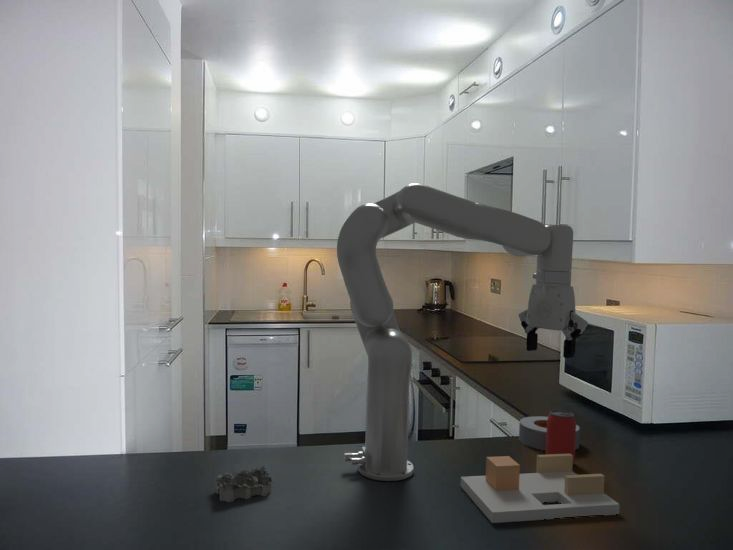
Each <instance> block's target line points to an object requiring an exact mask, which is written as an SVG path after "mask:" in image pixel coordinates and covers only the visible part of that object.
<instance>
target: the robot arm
mask: <svg viewBox="0 0 733 550" xmlns="http://www.w3.org/2000/svg"><path fill="white" fill-rule="evenodd" d="M413 224H419V225H421V226H424V227H427V228H430V229H433V230H437V231H439V232H442V233H445V234H449V235H451V236H454V237H457V238H461V239H466V240H474V241H475V240H477V241H484V242H489V243H493V244H497V245H500V246H502V248H503V249H504V250H505V251H506V252H507V253H508V254H510V255H513V256H518V257H526V256H527V257H529V256H530V257H531V256H532V257H533V256H537V259H536V271H535V272H536V273H535V272H534V273H532V279H534V280H535V283H532V286H531V289H530V294H529V298H528V303H527V309H526V310H524V311H521V312H519V313H518V317H519V320H520V325H521V327H522V328H523V330H524V333H525V334H526V343H525V344H526V351H528V352H532V351H537V350H538V339H539V338H538V337H539V336H538V333H536V332H537V331H538V330H539V329H544V330H550V331H562V334H563V335H564V337H565V338H566V339H564V341H563V352H562V353H563V354H562V357H563V358H564V359H572V358H574V356H575V353H576V345H577V344H576V341H577V340H578V339H579V337H581V336H582V335H583V334H584V331H585V330H586V328H587V327H588V325H589V322H588V321H587V320H586V319H584V318H583V317H582V316H581V315H578V314H577V313H576V299H575V298H576V297H575V289H574V286H572V285H571V284H572V269H573V268H572V264H573V249H574V244H573V243H574V230H573V227H571V226H569V225H564V224H546V225H545V224H544V223H543V222H541V221H538V220H537V219H534V218H531V217H529V216H526V215H523V214H519V213H517V212H514V211H510V210H506V209H503V208H499V207H495V206H491V205H487V204H484V203H481V202H476V201H474V200H473V201H472V200H469V199H466V198H463V197H460V196H457V195H453V194H452V193H449V192H447V191H446V192H445V191H443V190H440V189H437V188H434V187H431V186H428V185H425V184H423V183H422V184H421V183H417V182H415V183H413V182H412V183H409V184H407V185H405V186H404V187H402V188H401V189H400V190H399V191H397V192H395V193H394V194H391V195H389V196H387V197H385V198H382V199H380V200H378V201H376V202H373V203H364V204H360V205H359V206H358V207H356V208H355V209H354V210H353V211H352V212H351V213H350V215H349V216H348V217H347V218H346V220H345V222H344V223H343V225H342V226H341V229H340V231H339V235H338V238H337V242H336V257H337V262H338V267H339V269H340V273H341V275H342V278H343V282H344V286H345V288H346V291H347V293H348V297H349V300H350V301H349V305H350V310H351V312H352V313H351V314H352V316H353V319H354V322H355V325H356V328H357V330H358V333H359V335H360V336H359V337H360V339H361V341H362V344H363V347H364V349H365V353H366V356H367V360H368V361H367V379H366V400H365V401H366V405H365V407H366V411H365V413H366V414H365V438H364V439H365V442H364V443H365V444H364V446H362V447H361V450H358V451H357V452H344V453H343V461H344V463H346V462H350V464H351V465H352V466H353V465H354V466H355V465H357V471H358V472H359V474H361V476H363V477H366V478H368V479H370V480H374V481H380V482H381V481H382V482H396V481H397V482H398V481H403V480H405V479H408V478H410V477H412V475H413V474H414V471H415V470H414V468H415V467H414V464H413V463H412V462H411V461H410V460H408V447H409V446H408V442H409V441H408V440H409V439H408V438H409V414H410V413H409V411H410V409H409V408H410V383H411V374H412V366H413V365H412V364H413V353H412V352H413V351H412V347H411V344H410V343H409V341H408V339H407V337H406V336H405V335H403V334H402V332H401V330H400V327H399V324H398V322H397V318H396V315H395V313H394V301H393V297H392V296H391V294H390V292H389V289H388V286H387V285H386V284H387V283H386V281H385V280H384V276H383V273H382V270H381V267H380V264H379V261H378V257H377V245H378V242H379V240H381V239H383V238H386V237H388V236H390V235H392V234H394V233H396V232H399V231H401V230H403V229H405V228H407V227H409V226H411V225H413ZM575 324H577V326H576V325H575ZM575 326H576V329H574V328H575Z"/></svg>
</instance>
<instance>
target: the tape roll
mask: <svg viewBox="0 0 733 550" xmlns="http://www.w3.org/2000/svg"><path fill="white" fill-rule="evenodd" d="M547 419H548V416H526V417H523V418H521V419H520V420H519V425H518V426H519V429H518V440H519V442H520V441H521V443H522V444H523V443H524V444H523V445H524V446H527V447H529V446H530V447H529V448H532V447H533V449H535V448H536V449H535V450H539V449H540V450H539V451H543V450H545V452H546V436H547ZM580 431H581V429H580V426H579V425H577V424H576V437H575V451H576V449H577V450H578V449H579V448H580V433H581V432H580Z"/></svg>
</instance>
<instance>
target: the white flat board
mask: <svg viewBox="0 0 733 550" xmlns="http://www.w3.org/2000/svg"><path fill="white" fill-rule="evenodd" d="M573 465H574V464H573V455H571V454H548V455H546V454H536V466H535V467H536V468H535V469H536V471H535V472H532V473H530V472H529V473H520V476H519V490H504V491H495V490H494V489H493V488H492V487H491V486H490V485H489V484H488V483H487V482H486V475H471V476H469V475H468V476H460V488H461V489H462V490H463V491H464V492H465V493H466V495H467V496H468V497H469V498H470V499H471V501H472V502H474V504H475V505H476V506H477V507H478V509H480V511H481V512H482V514H484V516H485V517H486V518H487V519H488V521H490V523H491V524H500V523H501V524H502V523H512V522H513V523H514V522H515V523H517V522H527V521H528V522H529V521H542V520H544V519H546V520H555V519H554V518H560V519H563V518H562V517H573V516H588V515H604V516H615V515H616V514H618V515H620V503H618V502H617V501H616V500H614V499H612V498H611V497H610V496H608V495H607V494H606V493H605V475H604V474H602V473H590V474H589V473H588V474H585V473H584V474H578V473H576V472H574V471H573V467H574V466H573ZM556 501H557V502H556ZM544 502H547V503H558V504H545V503H544ZM560 503H561V504H560Z"/></svg>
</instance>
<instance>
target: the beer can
mask: <svg viewBox="0 0 733 550" xmlns="http://www.w3.org/2000/svg"><path fill="white" fill-rule="evenodd" d="M547 417H548V419H547V436H546V451H545V455H548V454H571V455H573V465H574V464H575V458H576V450H575V437H576V425H577V422H576V417H575V414H574V413H573V412H571V411H567V410H564V409H553V410H552V409H551V410H550V411H549V414H548V416H547Z"/></svg>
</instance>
